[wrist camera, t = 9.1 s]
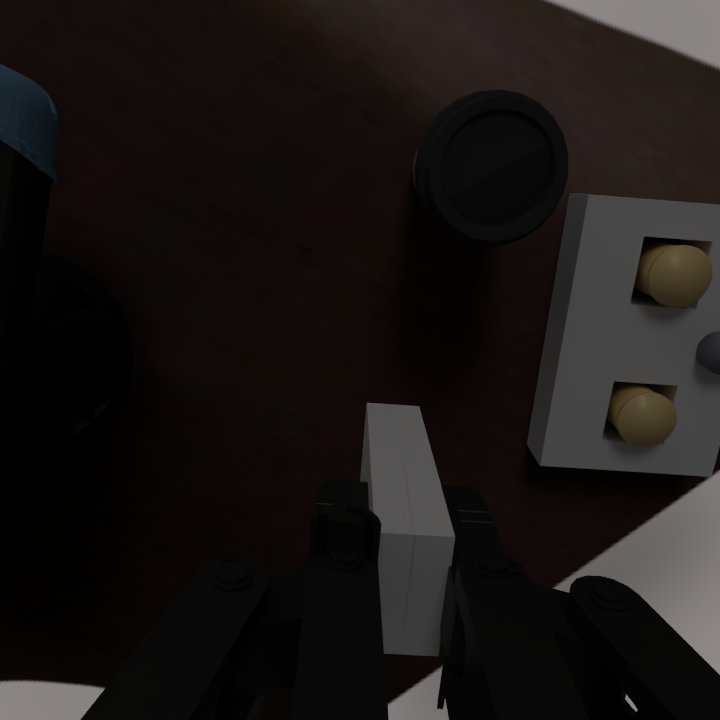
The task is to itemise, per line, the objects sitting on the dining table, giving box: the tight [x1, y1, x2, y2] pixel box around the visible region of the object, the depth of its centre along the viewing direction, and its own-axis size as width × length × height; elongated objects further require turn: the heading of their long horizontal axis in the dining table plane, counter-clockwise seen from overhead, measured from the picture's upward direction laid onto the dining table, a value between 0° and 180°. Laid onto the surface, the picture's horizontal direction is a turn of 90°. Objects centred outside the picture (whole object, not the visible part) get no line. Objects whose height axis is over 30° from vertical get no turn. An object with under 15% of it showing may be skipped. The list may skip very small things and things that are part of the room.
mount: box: [527, 193, 720, 477], centre depth 48 cm, size 14×21×6 cm, turn 176°
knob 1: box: [634, 242, 713, 308], centre depth 46 cm, size 4×4×4 cm
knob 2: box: [606, 382, 677, 448], centre depth 49 cm, size 4×4×4 cm
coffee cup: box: [412, 90, 568, 247], centre depth 39 cm, size 8×8×15 cm
